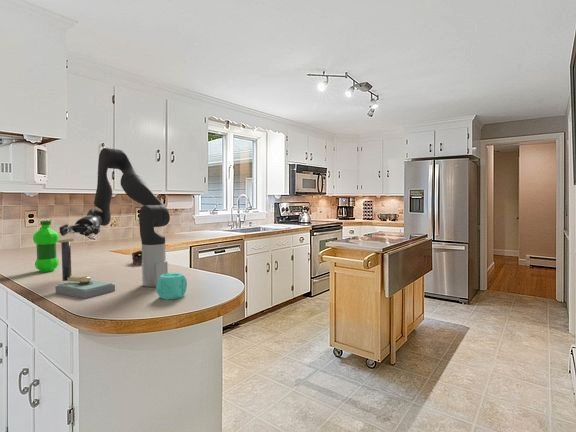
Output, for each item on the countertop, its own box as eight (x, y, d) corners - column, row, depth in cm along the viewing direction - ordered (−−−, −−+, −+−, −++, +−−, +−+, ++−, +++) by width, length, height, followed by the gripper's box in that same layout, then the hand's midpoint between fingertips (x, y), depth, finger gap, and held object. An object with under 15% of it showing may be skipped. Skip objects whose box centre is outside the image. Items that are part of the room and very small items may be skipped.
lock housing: (115, 290, 135) (114, 282, 135) (85, 298, 124) (84, 289, 124) (85, 285, 143) (85, 277, 143) (55, 292, 132) (55, 284, 132)
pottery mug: (154, 263, 195) (151, 252, 190) (141, 273, 188) (138, 262, 183) (139, 256, 200) (136, 245, 195) (126, 266, 193) (122, 254, 188)
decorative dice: (176, 300, 122) (176, 278, 122) (156, 299, 123) (155, 277, 123) (187, 294, 130) (186, 273, 130) (167, 293, 131) (167, 272, 131)
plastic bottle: (29, 272, 169) (27, 221, 168) (49, 268, 179) (48, 220, 178) (44, 273, 166) (42, 221, 165) (64, 269, 176) (63, 220, 175)
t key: (95, 281, 136) (94, 239, 135) (82, 284, 130) (81, 241, 129) (70, 279, 139) (69, 238, 138) (57, 282, 133) (55, 240, 132)
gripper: (69, 215, 153) (54, 224, 138) (104, 217, 157) (93, 225, 141) (70, 232, 155) (54, 242, 139) (104, 233, 158) (93, 243, 143)
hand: (74, 233), depth 140 cm, fingers open, 8 cm apart
